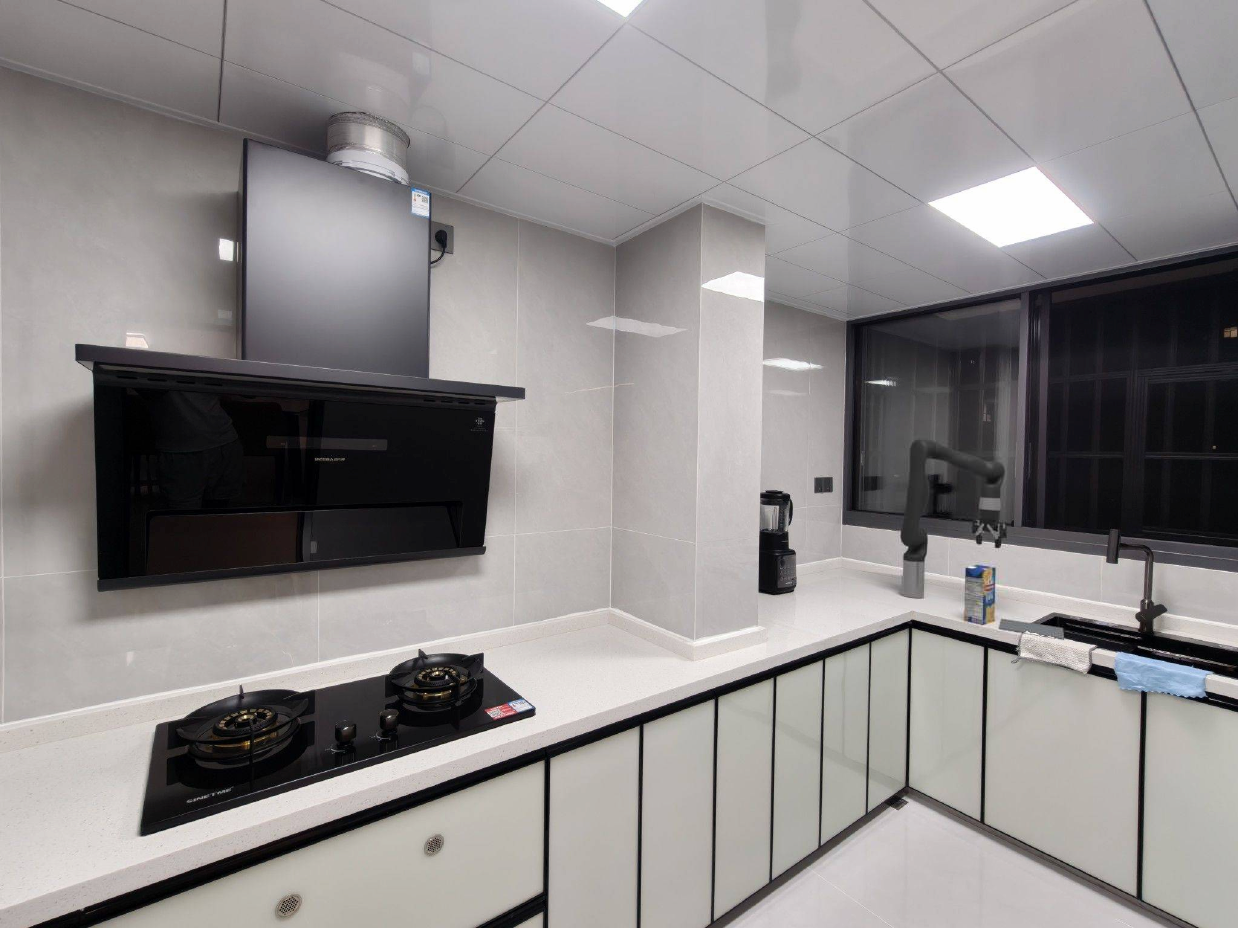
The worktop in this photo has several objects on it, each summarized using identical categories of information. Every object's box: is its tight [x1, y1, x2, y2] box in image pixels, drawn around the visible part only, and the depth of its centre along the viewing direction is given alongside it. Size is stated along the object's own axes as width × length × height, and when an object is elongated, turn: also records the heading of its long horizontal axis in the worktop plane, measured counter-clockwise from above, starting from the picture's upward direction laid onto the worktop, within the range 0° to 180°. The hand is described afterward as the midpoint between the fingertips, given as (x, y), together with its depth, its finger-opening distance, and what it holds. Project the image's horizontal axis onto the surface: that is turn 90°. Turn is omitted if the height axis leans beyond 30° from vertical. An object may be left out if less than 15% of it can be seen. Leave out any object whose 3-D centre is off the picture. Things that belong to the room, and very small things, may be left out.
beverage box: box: [963, 564, 997, 626], centre depth 229 cm, size 7×11×22 cm, turn 125°
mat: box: [998, 618, 1065, 641], centre depth 219 cm, size 20×16×1 cm
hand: (988, 546), depth 238 cm, fingers open, 8 cm apart
